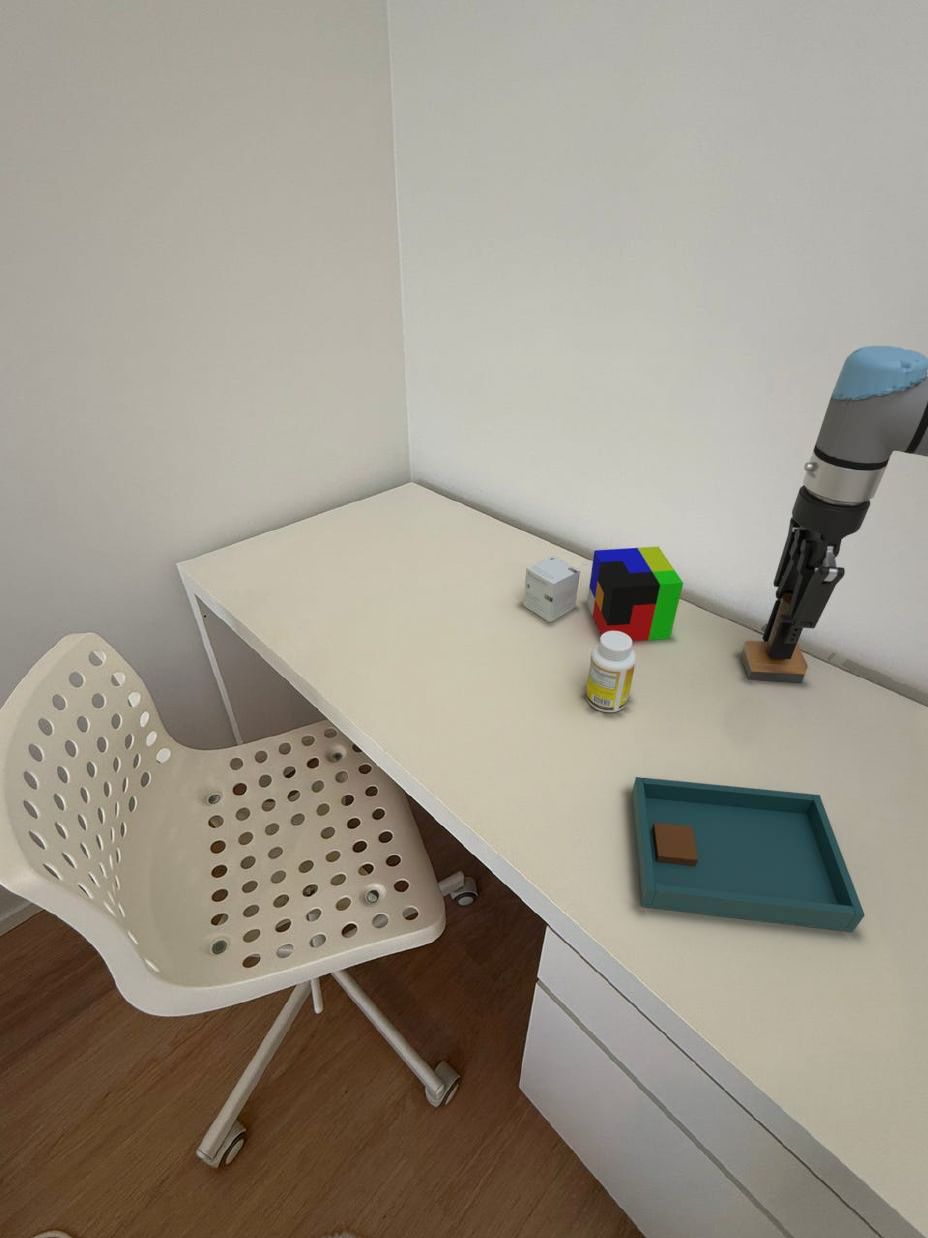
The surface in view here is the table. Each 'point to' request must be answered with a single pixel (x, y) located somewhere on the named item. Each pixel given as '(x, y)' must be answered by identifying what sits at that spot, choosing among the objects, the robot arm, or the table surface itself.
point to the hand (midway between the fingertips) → (776, 648)
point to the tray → (745, 855)
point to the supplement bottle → (611, 672)
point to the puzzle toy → (634, 592)
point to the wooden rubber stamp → (773, 668)
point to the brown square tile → (674, 844)
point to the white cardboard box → (551, 588)
